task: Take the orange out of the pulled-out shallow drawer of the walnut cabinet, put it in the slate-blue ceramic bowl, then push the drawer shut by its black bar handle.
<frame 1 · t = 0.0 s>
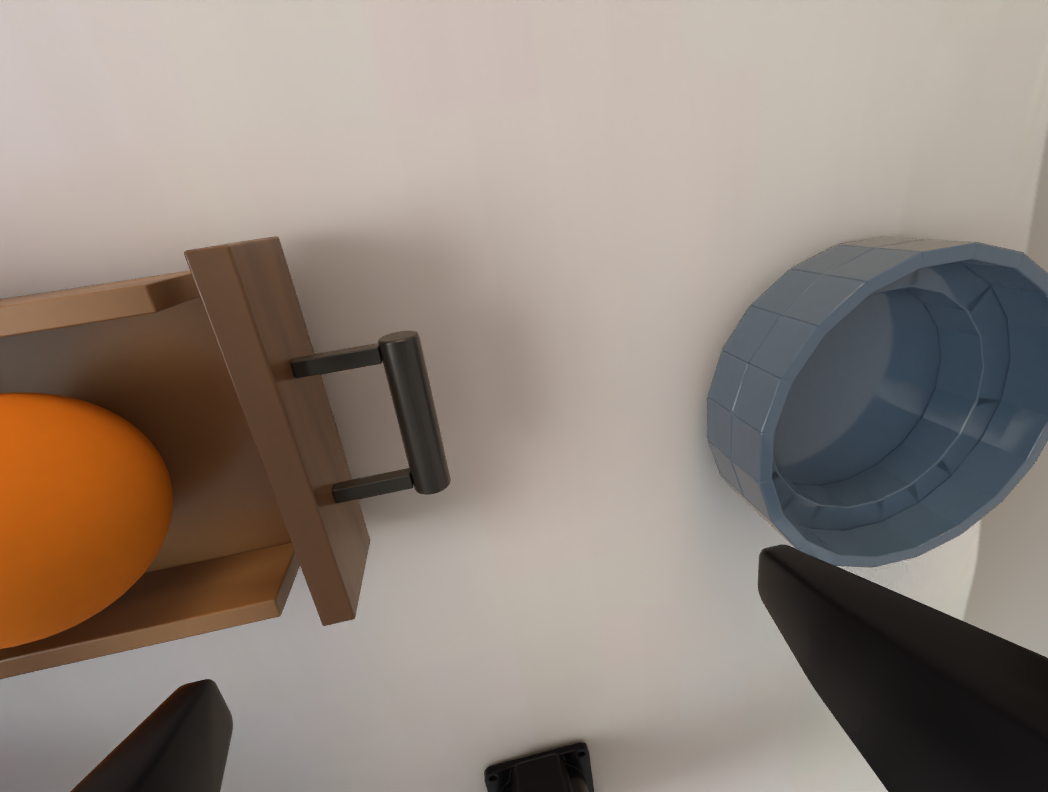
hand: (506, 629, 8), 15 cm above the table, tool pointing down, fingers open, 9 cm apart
orange: (99, 458, 19), point 2 cm above the table, touching drawer
drawer: (125, 466, 18), point 3 cm above the table, slide at 14.0 cm, touching orange
bowl: (831, 385, 25), on the table
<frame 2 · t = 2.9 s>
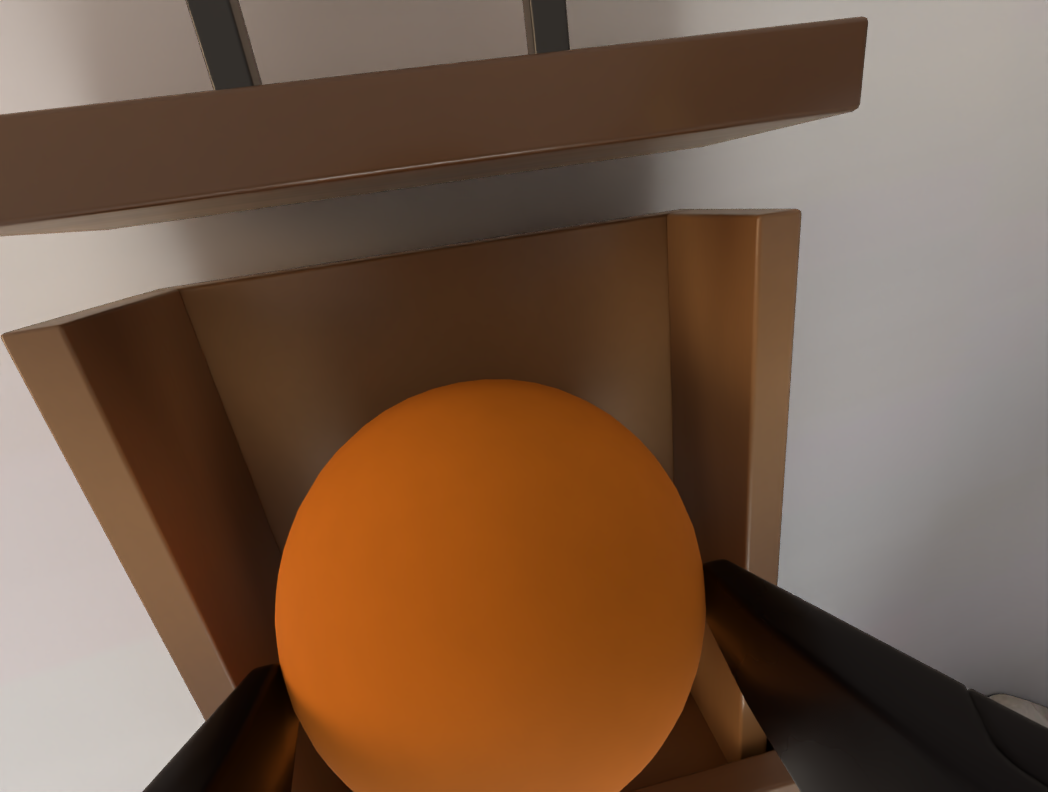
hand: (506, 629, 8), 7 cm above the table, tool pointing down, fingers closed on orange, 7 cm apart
orange: (479, 478, 13), point 2 cm above the table, touching drawer, gripper
drawer: (472, 445, 11), point 3 cm above the table, slide at 14.0 cm, touching orange
ceramic pitcher: (958, 761, 25), on the table
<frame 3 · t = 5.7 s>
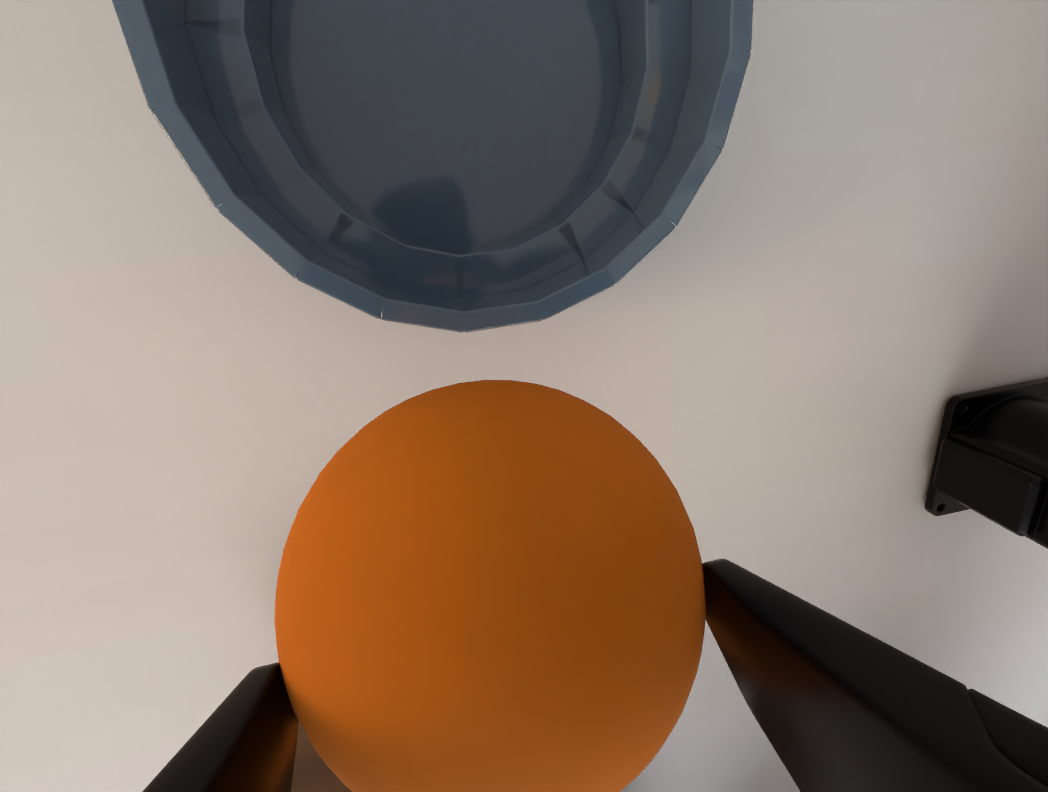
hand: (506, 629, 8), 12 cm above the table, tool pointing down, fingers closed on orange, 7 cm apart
orange: (479, 479, 13), point 7 cm above the table, touching gripper
bowl: (454, 75, 16), on the table
when the fingers open (6 cm above the table, at t = 8.6 s): orange stays where it is, resting on bowl.
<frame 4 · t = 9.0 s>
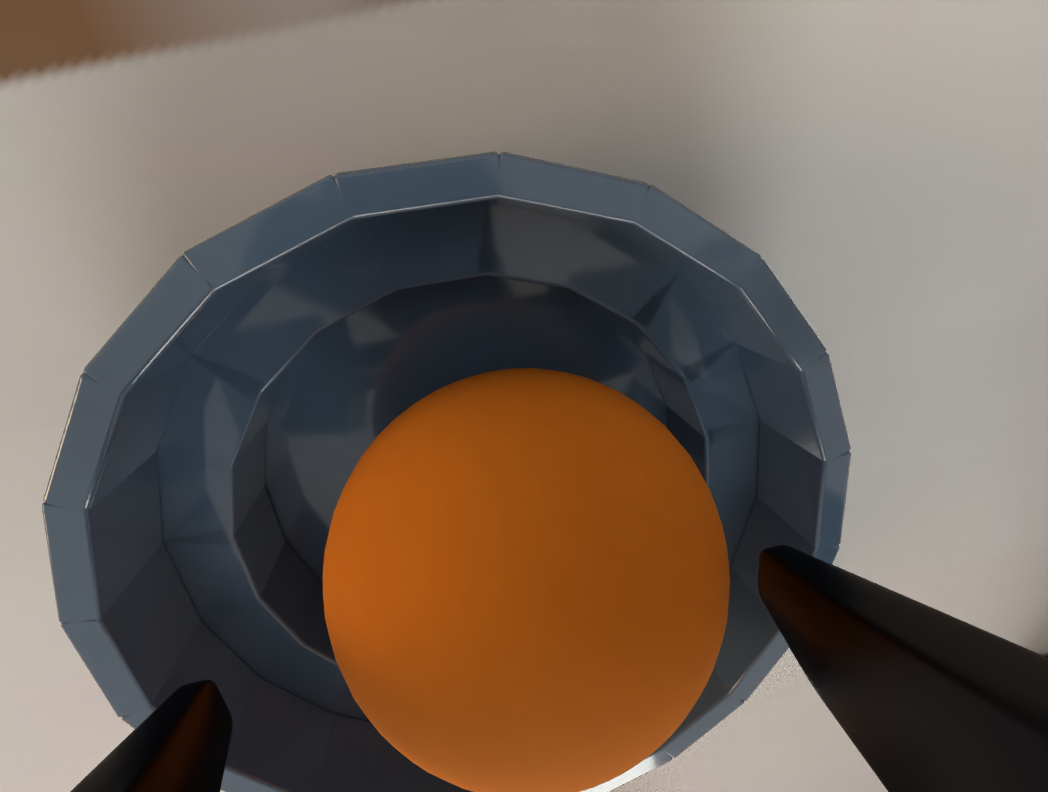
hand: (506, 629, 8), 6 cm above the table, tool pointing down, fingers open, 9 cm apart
orange: (482, 473, 13), point 1 cm above the table, tilted 8°, touching bowl
bowl: (477, 457, 14), on the table
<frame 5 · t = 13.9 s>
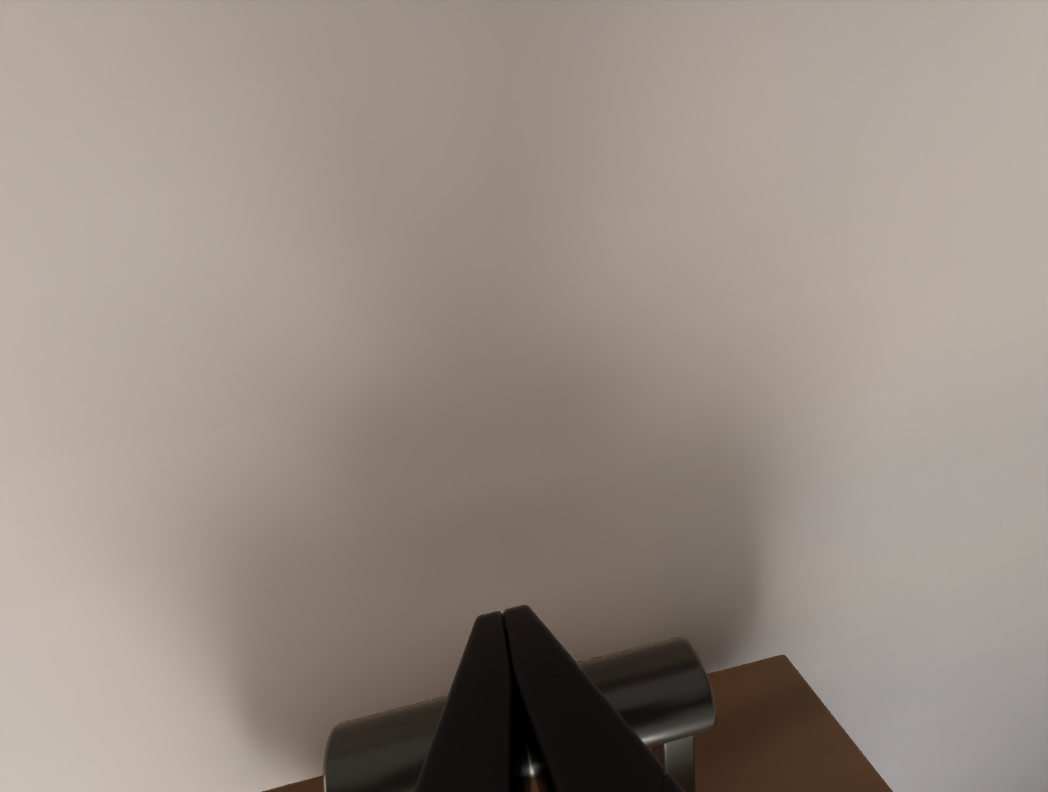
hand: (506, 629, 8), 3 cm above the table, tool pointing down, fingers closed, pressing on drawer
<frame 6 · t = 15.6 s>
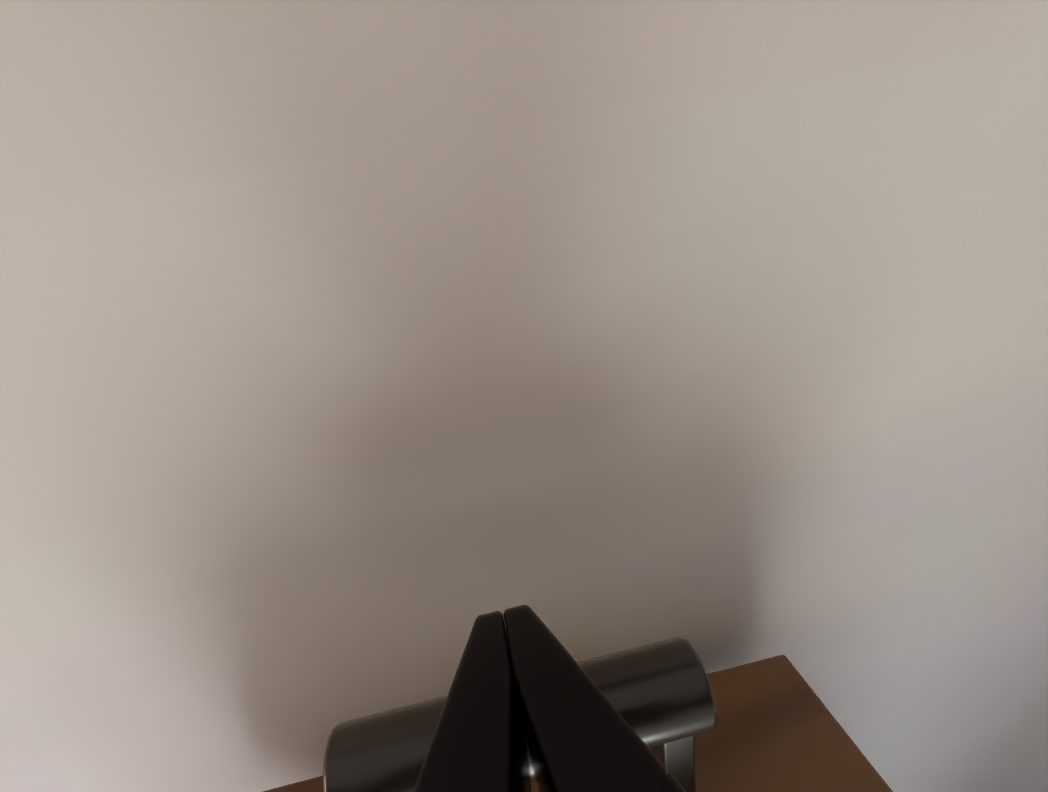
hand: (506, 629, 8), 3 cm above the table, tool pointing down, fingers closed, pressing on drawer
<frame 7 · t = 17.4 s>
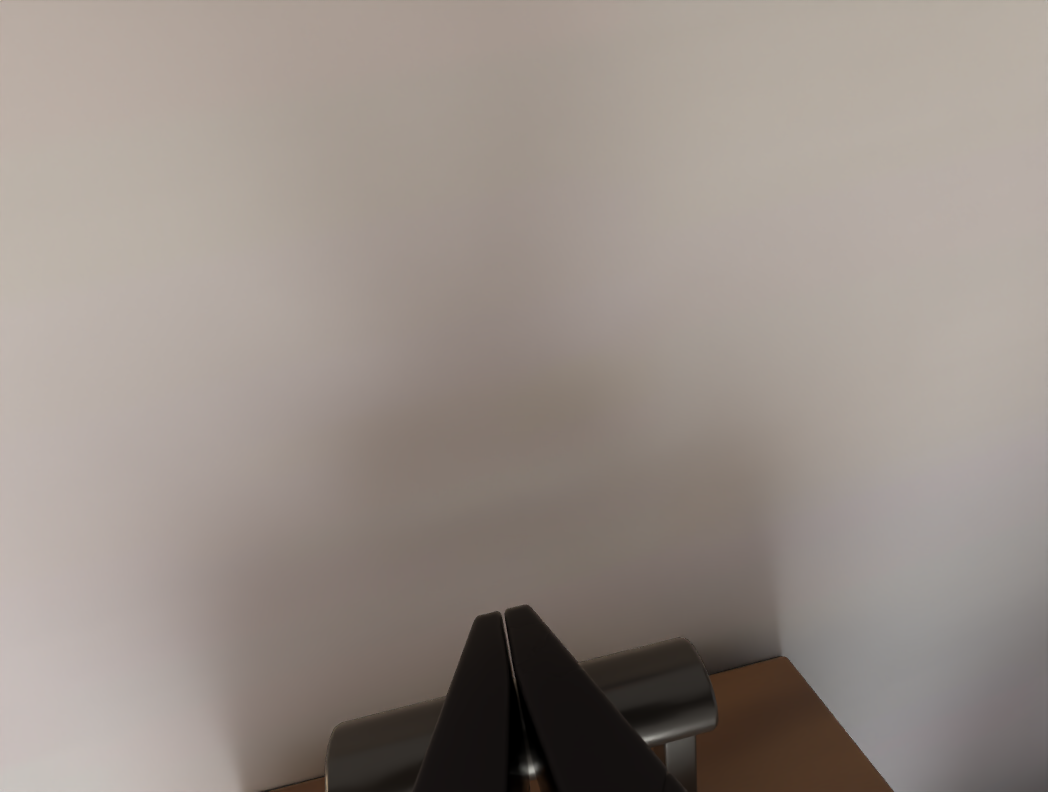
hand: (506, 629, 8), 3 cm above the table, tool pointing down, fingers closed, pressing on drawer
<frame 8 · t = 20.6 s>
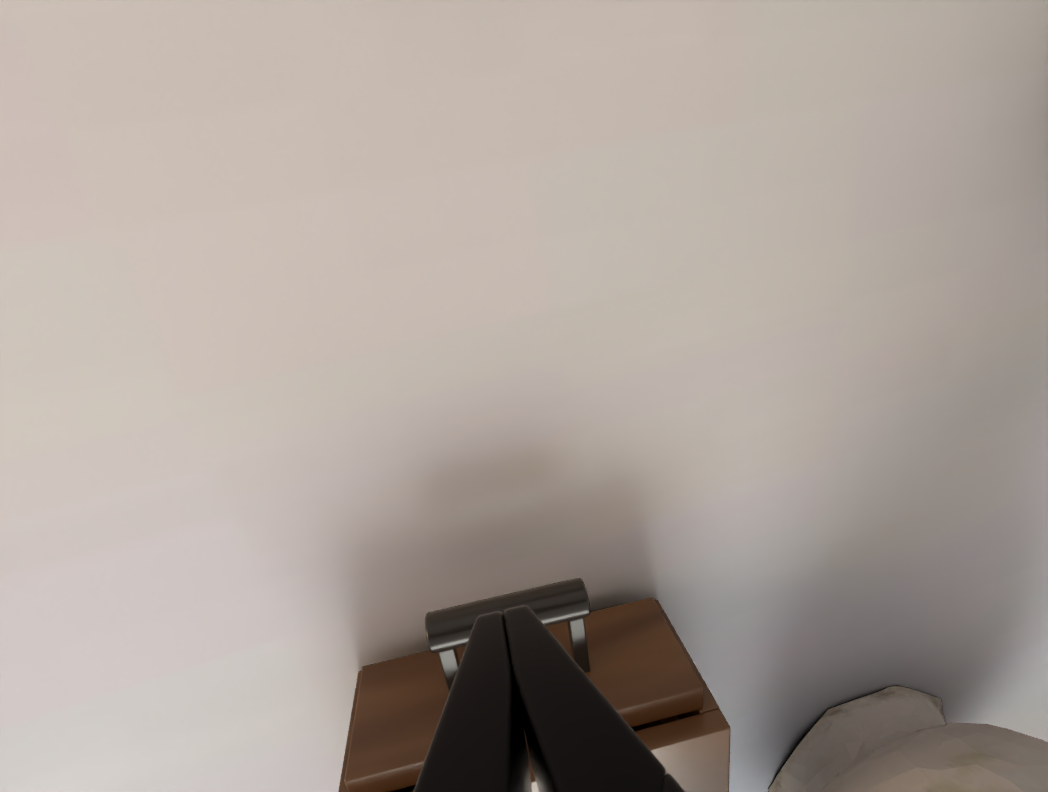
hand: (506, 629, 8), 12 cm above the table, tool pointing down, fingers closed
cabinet: (537, 761, 27), on the table
drawer: (540, 779, 23), point 3 cm above the table, slide at 0.0 cm, touching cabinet
ceramic pitcher: (869, 739, 32), on the table
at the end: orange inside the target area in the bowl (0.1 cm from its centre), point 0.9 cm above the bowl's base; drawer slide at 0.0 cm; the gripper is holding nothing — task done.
